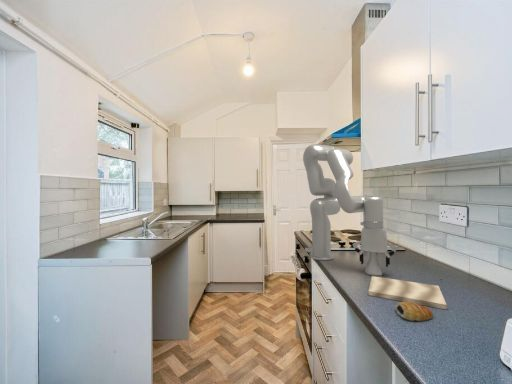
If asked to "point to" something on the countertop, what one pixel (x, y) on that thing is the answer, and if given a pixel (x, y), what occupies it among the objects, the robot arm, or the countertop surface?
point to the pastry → (413, 311)
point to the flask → (373, 266)
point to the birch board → (407, 292)
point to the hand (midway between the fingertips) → (374, 264)
